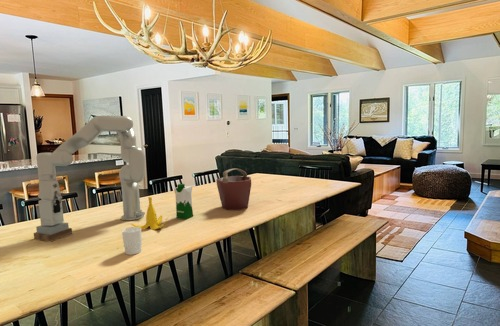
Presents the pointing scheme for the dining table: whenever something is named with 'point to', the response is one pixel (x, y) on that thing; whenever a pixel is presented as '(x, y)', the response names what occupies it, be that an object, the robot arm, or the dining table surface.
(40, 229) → the tower top
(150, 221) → the banana peel
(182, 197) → the milk carton
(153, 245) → the dining table surface
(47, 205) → the supplement box
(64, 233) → the tower base
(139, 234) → the white cup
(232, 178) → the bucket
